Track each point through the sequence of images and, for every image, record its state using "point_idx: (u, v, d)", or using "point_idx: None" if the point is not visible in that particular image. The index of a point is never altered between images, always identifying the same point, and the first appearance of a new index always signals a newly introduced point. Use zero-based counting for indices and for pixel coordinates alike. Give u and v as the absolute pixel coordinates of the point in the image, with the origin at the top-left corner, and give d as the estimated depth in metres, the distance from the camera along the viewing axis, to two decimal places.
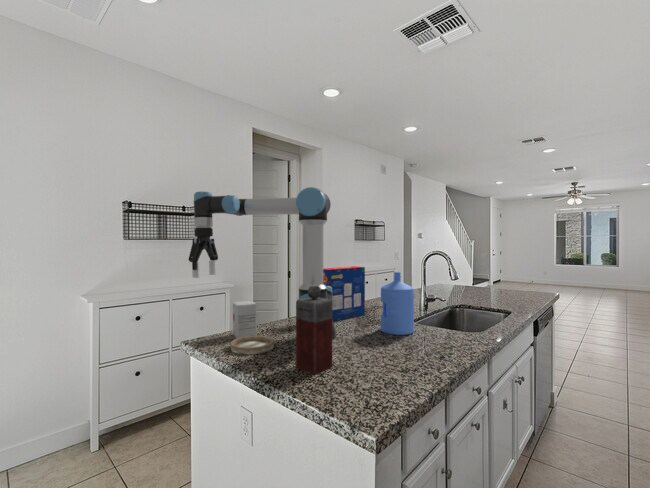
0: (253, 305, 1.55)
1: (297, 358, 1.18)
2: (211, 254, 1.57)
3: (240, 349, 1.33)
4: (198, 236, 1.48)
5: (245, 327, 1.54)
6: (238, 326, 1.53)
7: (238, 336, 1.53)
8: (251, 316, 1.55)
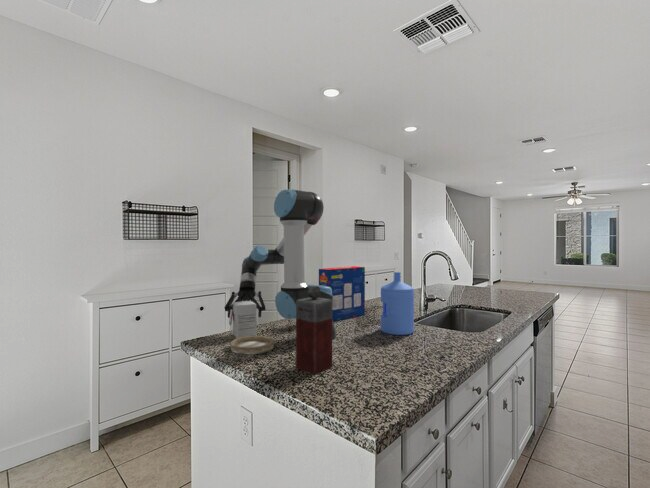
0: (253, 305, 1.55)
1: (297, 358, 1.18)
2: None
3: (240, 349, 1.33)
4: None
5: (244, 327, 1.54)
6: (238, 326, 1.53)
7: (238, 336, 1.53)
8: (251, 316, 1.55)
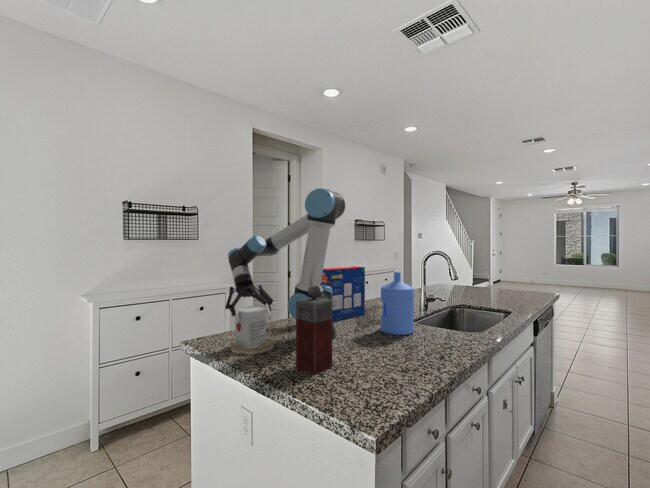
0: (262, 310, 1.40)
1: (297, 358, 1.18)
2: (261, 299, 1.46)
3: (240, 349, 1.33)
4: None
5: (255, 336, 1.37)
6: (249, 336, 1.35)
7: None
8: (261, 323, 1.39)
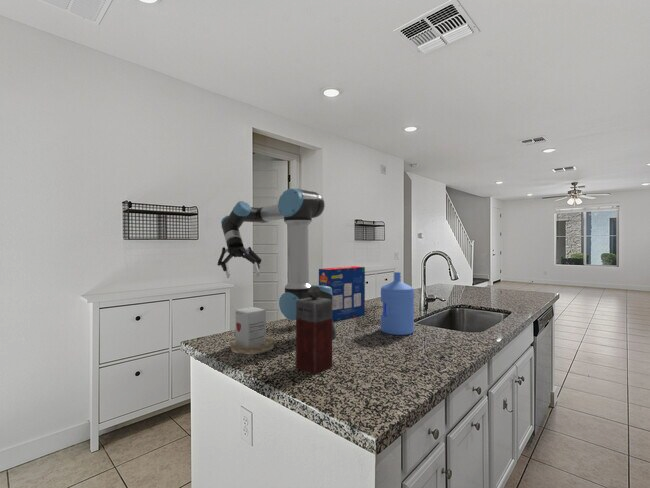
0: (263, 311, 1.39)
1: (297, 358, 1.18)
2: (250, 258, 1.64)
3: (240, 349, 1.33)
4: None
5: (255, 336, 1.37)
6: (248, 336, 1.35)
7: None
8: (261, 324, 1.39)
